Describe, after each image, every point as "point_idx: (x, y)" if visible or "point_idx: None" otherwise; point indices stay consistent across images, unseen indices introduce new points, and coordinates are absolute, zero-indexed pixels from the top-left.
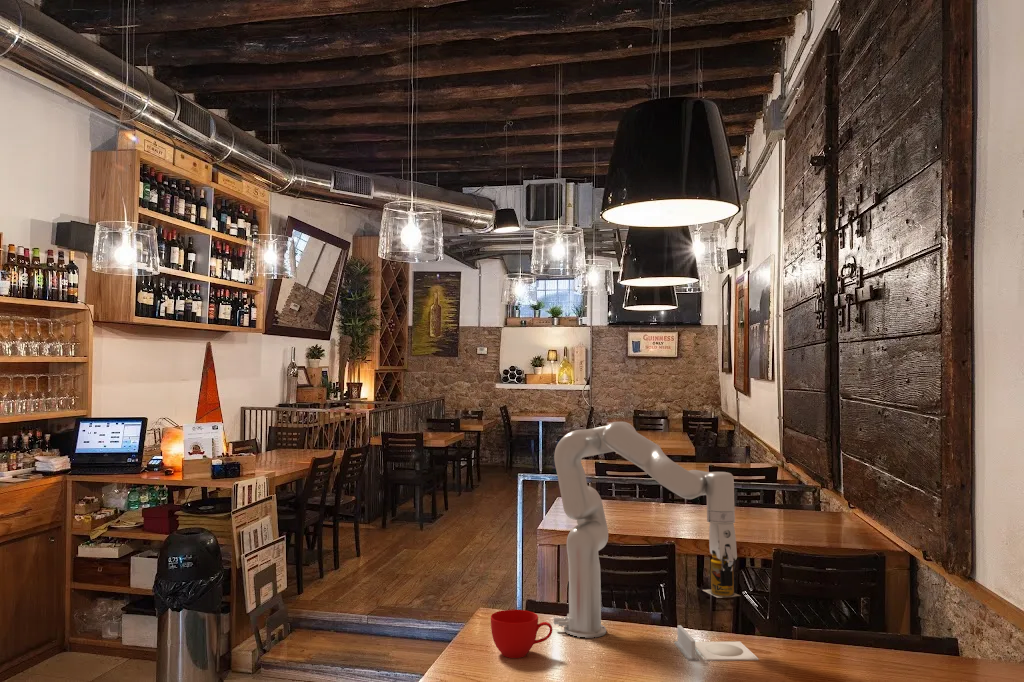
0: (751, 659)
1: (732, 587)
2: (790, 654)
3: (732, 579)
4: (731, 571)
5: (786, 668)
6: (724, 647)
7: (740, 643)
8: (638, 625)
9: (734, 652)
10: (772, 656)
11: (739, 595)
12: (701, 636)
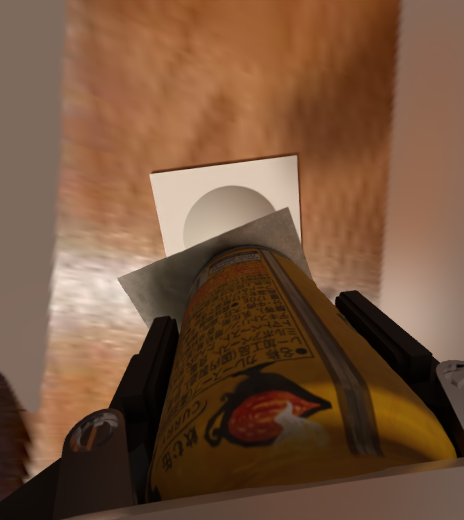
0: (297, 176)
1: (304, 274)
2: (238, 31)
3: (377, 309)
4: (425, 358)
5: (358, 90)
6: (214, 232)
7: (169, 177)
8: (55, 408)
9: (254, 213)
10: (261, 102)
11: (284, 217)
12: (111, 273)
